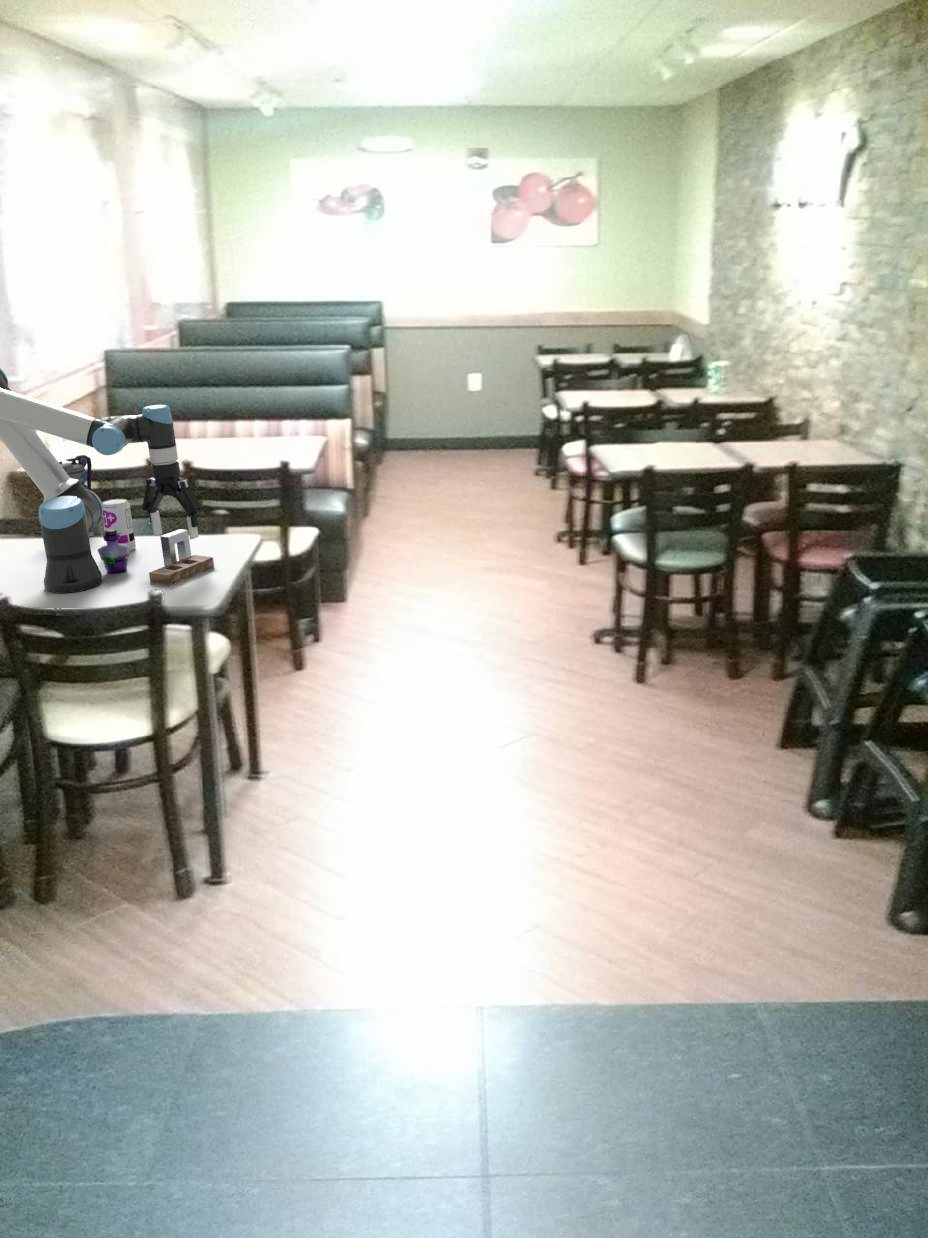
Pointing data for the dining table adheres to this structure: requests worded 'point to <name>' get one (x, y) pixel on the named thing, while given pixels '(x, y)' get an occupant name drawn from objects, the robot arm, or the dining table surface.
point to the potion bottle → (114, 553)
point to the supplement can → (119, 520)
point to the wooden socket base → (181, 570)
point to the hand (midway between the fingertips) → (176, 536)
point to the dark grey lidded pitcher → (79, 470)
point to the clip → (169, 546)
